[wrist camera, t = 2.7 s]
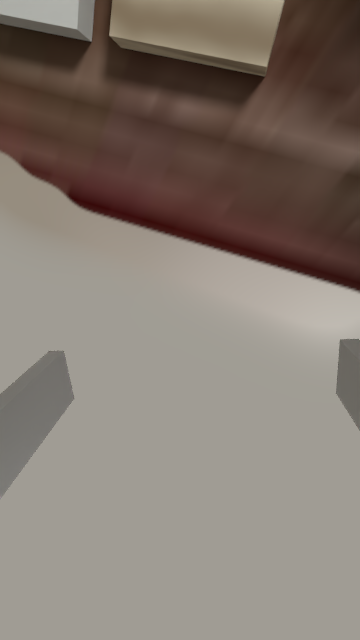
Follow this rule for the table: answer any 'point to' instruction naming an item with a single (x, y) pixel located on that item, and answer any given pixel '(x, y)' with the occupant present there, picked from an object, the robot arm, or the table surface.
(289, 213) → the table surface
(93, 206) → the table surface
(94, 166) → the table surface
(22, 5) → the mount block
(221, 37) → the block
